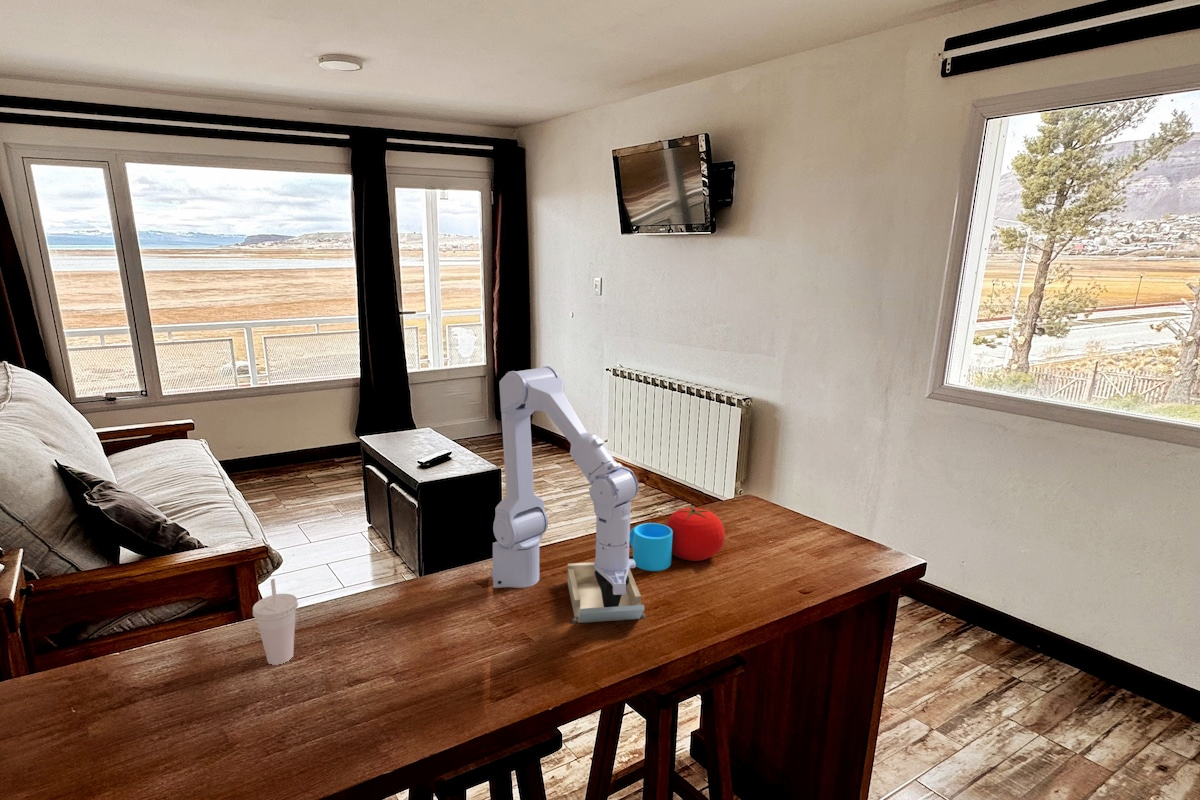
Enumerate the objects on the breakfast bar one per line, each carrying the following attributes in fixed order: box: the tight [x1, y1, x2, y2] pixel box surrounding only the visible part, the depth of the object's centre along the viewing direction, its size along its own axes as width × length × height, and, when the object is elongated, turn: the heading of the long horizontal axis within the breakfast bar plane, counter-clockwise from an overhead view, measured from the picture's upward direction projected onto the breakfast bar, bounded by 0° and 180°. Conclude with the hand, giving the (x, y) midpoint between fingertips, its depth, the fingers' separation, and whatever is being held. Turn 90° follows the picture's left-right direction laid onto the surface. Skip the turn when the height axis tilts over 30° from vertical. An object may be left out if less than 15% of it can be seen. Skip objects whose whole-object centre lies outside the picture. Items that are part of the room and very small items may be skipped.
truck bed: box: [566, 561, 646, 624], centre depth 119 cm, size 13×15×5 cm
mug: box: [629, 522, 673, 572], centre depth 136 cm, size 12×8×8 cm
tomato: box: [665, 505, 726, 562], centre depth 139 cm, size 12×13×11 cm
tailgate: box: [577, 604, 646, 624], centre depth 110 cm, size 11×1×5 cm
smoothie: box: [252, 578, 299, 666], centre depth 100 cm, size 6×6×14 cm
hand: (610, 611), depth 110 cm, fingers closed, pressing on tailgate
